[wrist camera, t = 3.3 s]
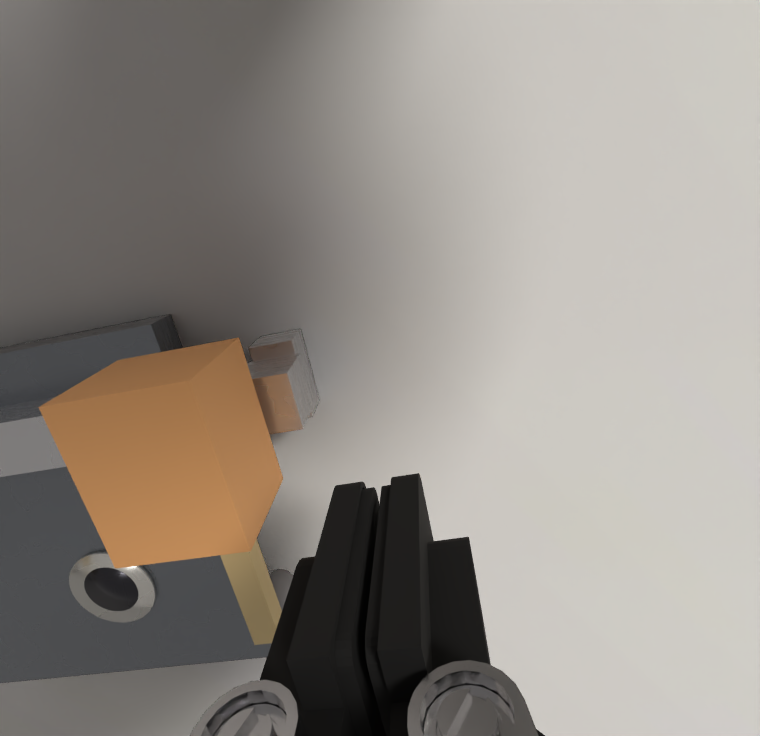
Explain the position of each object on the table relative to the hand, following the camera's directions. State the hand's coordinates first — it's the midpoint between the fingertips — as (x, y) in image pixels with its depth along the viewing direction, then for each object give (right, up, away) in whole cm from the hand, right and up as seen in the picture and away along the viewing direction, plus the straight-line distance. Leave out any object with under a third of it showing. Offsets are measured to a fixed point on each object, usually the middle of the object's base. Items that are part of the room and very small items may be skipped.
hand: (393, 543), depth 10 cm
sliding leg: (-5, 0, +9) cm, 10 cm away
